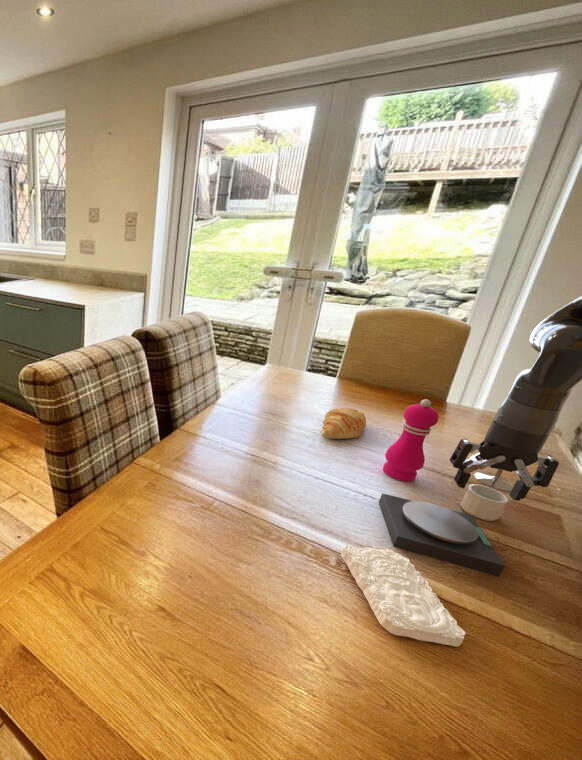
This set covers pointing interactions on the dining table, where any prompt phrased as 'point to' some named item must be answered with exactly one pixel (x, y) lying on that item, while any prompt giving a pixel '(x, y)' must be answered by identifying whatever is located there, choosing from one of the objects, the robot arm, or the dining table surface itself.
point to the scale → (439, 540)
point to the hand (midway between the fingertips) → (485, 491)
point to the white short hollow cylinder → (483, 502)
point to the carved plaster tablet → (401, 596)
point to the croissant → (343, 423)
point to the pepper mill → (410, 442)
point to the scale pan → (440, 522)
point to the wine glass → (494, 480)
